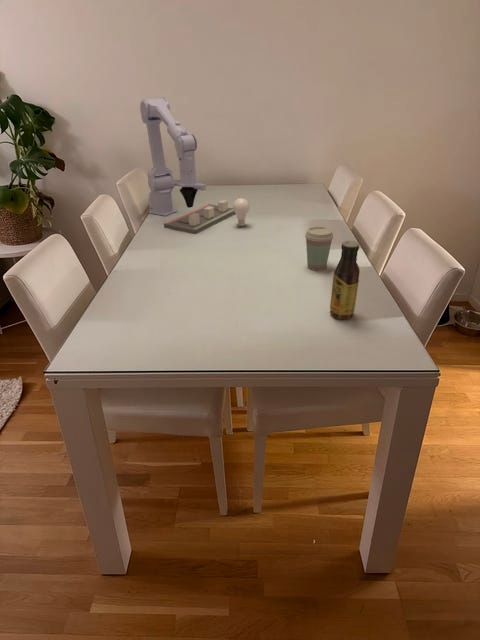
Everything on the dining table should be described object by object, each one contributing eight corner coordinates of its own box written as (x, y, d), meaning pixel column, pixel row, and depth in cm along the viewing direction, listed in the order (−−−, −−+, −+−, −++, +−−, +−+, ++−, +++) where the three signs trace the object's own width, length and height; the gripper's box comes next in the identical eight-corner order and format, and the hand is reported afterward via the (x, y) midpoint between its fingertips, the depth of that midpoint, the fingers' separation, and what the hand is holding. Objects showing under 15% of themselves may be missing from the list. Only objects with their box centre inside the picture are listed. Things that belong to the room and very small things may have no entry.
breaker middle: (204, 217, 185) (203, 208, 184) (209, 215, 188) (209, 206, 186) (209, 218, 184) (208, 209, 182) (214, 216, 187) (213, 207, 185)
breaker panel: (164, 227, 181) (164, 223, 180) (208, 207, 203) (208, 203, 202) (195, 234, 174) (195, 230, 174) (237, 212, 196) (237, 208, 195)
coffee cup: (332, 263, 149) (335, 227, 143) (327, 274, 142) (331, 236, 136) (306, 260, 152) (308, 224, 146) (300, 270, 145) (302, 233, 139)
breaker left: (218, 211, 193) (218, 202, 191) (223, 208, 195) (222, 200, 193) (223, 212, 192) (222, 202, 190) (227, 209, 194) (227, 200, 192)
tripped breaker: (189, 225, 178) (188, 215, 176) (194, 222, 181) (194, 212, 179) (194, 226, 177) (193, 216, 175) (199, 223, 180) (199, 213, 178)
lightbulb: (250, 223, 184) (250, 196, 178) (248, 229, 178) (248, 200, 173) (234, 223, 184) (233, 195, 179) (232, 229, 179) (231, 200, 173)
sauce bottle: (326, 309, 123) (333, 238, 113) (349, 308, 123) (358, 237, 113) (333, 322, 117) (340, 248, 107) (357, 320, 118) (367, 247, 108)
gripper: (165, 170, 170) (168, 206, 177) (197, 174, 163) (199, 212, 170) (177, 166, 175) (180, 202, 182) (208, 170, 168) (210, 207, 175)
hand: (190, 206), depth 176 cm, fingers closed
